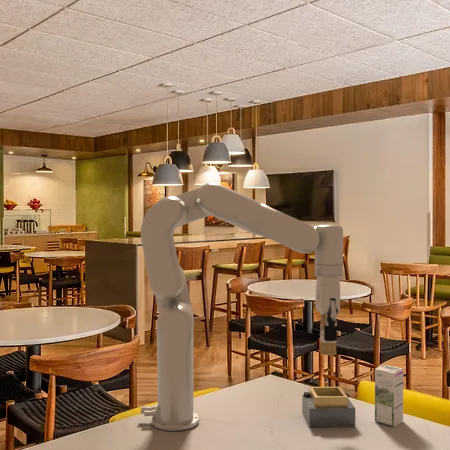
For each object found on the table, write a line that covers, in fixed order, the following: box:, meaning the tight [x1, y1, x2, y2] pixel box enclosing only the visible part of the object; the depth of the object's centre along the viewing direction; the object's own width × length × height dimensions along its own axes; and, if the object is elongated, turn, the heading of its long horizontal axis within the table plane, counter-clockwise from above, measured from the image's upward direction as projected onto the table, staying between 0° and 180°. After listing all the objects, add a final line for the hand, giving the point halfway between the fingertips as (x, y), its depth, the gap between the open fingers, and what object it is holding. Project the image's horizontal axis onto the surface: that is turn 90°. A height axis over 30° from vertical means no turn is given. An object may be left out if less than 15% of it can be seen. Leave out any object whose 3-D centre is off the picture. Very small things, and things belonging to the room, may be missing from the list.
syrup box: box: [374, 364, 404, 428], centre depth 146 cm, size 6×6×14 cm
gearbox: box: [301, 386, 356, 429], centre depth 148 cm, size 12×11×8 cm
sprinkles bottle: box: [319, 308, 338, 356], centre depth 148 cm, size 5×5×13 cm
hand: (328, 337), depth 148 cm, fingers closed on sprinkles bottle, 4 cm apart
